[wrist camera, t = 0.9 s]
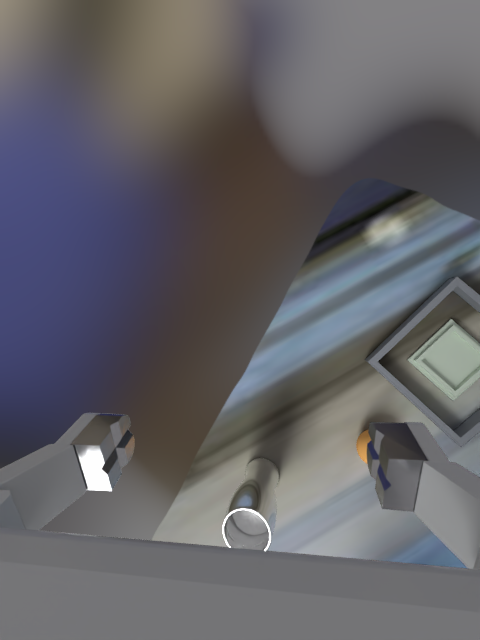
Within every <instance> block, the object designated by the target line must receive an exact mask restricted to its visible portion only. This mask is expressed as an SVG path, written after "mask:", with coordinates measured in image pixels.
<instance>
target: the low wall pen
mask: <svg viewBox="0 0 480 640" xmlns="http://www.w3.org/2000/svg"><path fill="white" fill-rule="evenodd" d="M452 290H453V291H454V292H455V293H457V294H458V295H459V296H460V297H461V298H463V299H464V300H465V301H466V302H467V303H469V304H470V305H471V306H472V307H473V308H475V309H476V310H477V311H478V312H479V313H480V295H479V294H478V293H477V292H475V291H474V290H473V289H472V288H470V287H469V286H468V285H467V284H466V283H464V282H463V281H462V280H461V279H459V278H458V277H453V278H449V279H448V280H447V281H446V282H445V283H444V284H443V285H442V286H441V287H440V288H439V289H438V290H437V291H436V292H435V293H434V294H433V295H432V296H431V297H429V298H428V299H427V300H426V301H425V302H424V303H423V304H422V305H421V306H420V307H419V308H418V309H417V310H416V311H415V312H414V313H413V314H412V315H411V316H410V317H409V318H408V319H407V320H406V321H405V322H403V323H402V324H401V325H400V326H399V327H398V328H397V329H396V330H395V331H394V332H393V333H392V334H391V335H390V336H389V337H388V338H387V339H386V340H385V341H384V342H383V343H382V344H381V345H380V346H379V347H377V348H376V349H375V350H374V351H373V352H372V353H371V354H370V355H369V356H368V357H367V358H366V359H365V360H366V361H367V362H368V363H369V364H370V365H371V366H372V367H373V368H375V369H376V370H377V371H378V372H379V373H380V374H381V375H382V376H383V377H384V378H385V379H387V380H388V381H389V382H390V383H391V384H392V385H393V386H394V387H395V388H396V389H397V390H399V391H400V392H401V393H402V394H403V395H404V396H405V397H406V398H407V399H408V400H409V401H410V402H412V403H413V404H414V405H415V406H416V407H417V408H418V409H419V410H420V411H421V412H422V413H424V414H425V415H426V416H427V417H428V418H429V419H430V420H431V421H432V422H433V423H434V424H435V425H437V426H438V427H439V428H440V429H441V430H442V431H443V432H444V433H445V434H446V435H447V436H449V437H450V438H451V439H452V440H453V441H454V442H455V443H456V444H458V445H459V446H460V447H462V446H463V445H464V444H466V443H467V442H468V441H469V440H470V439H471V438H473V437H474V436H475V435H476V434H477V433H479V432H480V409H479V410H477V411H476V412H475V413H474V414H473V415H472V416H470V417H469V418H468V419H467V420H466V421H465V422H463V423H462V424H461V425H460V426H459V427H458V428H456V429H455V430H454V431H453V430H452V429H451V428H450V427H448V426H447V425H446V424H445V423H444V422H443V421H442V420H441V419H440V418H439V417H437V416H436V415H435V414H434V413H433V412H432V411H431V410H430V409H429V408H428V407H427V406H425V405H424V404H423V403H422V402H421V401H420V400H419V399H418V398H417V397H416V396H414V395H413V394H412V393H411V392H410V391H409V390H408V389H407V388H406V387H405V386H404V385H402V384H401V383H400V382H399V381H398V380H397V379H396V378H395V377H394V376H393V375H392V374H390V373H389V372H388V371H387V370H386V369H385V368H384V367H383V366H382V365H381V364H379V363H378V361H379V360H380V359H381V358H382V357H383V356H384V355H385V354H386V353H387V352H388V351H389V350H391V349H392V348H393V347H394V346H395V345H396V344H397V343H398V342H399V341H400V340H401V339H402V338H403V337H404V336H405V335H406V334H407V333H408V332H409V331H410V330H412V329H413V328H414V327H415V326H416V325H417V324H418V323H419V322H420V321H421V320H422V319H423V318H424V317H425V316H426V315H427V314H428V313H429V312H430V311H431V310H433V309H434V308H435V307H436V306H437V305H438V304H439V303H440V302H441V301H442V300H443V299H444V298H445V297H446V296H447V295H448V294H449V293H450V292H451V291H452Z"/></svg>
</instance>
